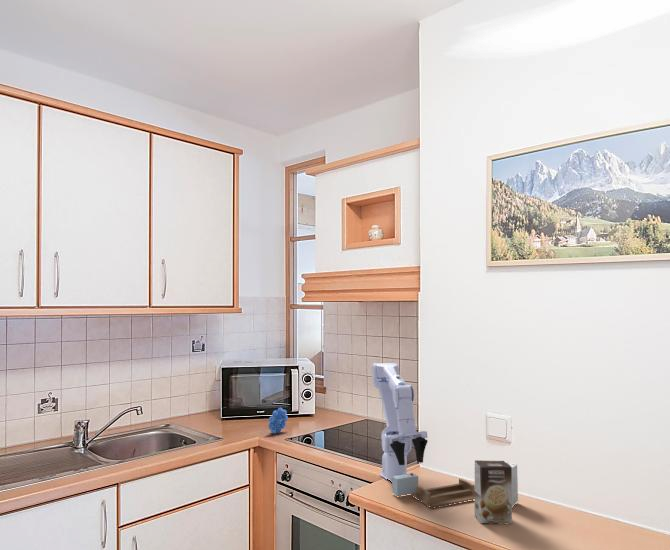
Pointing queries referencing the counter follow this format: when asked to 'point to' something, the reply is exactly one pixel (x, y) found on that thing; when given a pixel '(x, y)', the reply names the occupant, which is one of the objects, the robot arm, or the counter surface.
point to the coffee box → (493, 492)
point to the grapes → (278, 420)
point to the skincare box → (514, 483)
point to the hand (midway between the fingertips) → (410, 463)
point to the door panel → (404, 484)
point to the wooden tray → (446, 494)
